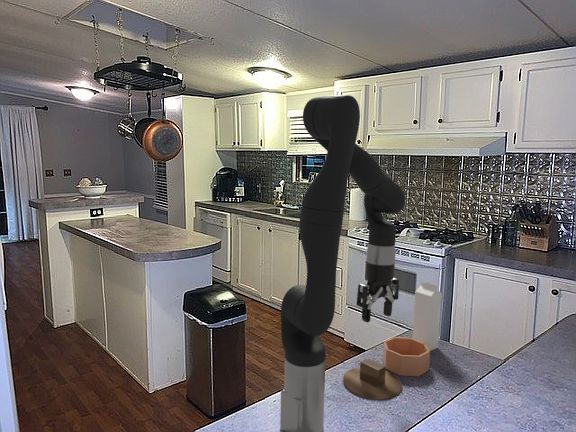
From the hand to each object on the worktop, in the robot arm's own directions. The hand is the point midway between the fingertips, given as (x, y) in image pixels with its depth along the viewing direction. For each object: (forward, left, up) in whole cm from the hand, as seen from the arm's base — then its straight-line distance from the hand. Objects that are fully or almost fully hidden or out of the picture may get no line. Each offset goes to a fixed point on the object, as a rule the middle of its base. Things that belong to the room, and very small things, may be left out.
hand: (376, 318), depth 117 cm
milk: (+31, +3, -19) cm, 36 cm away
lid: (-1, 0, -19) cm, 19 cm away
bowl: (+15, 0, -19) cm, 24 cm away
